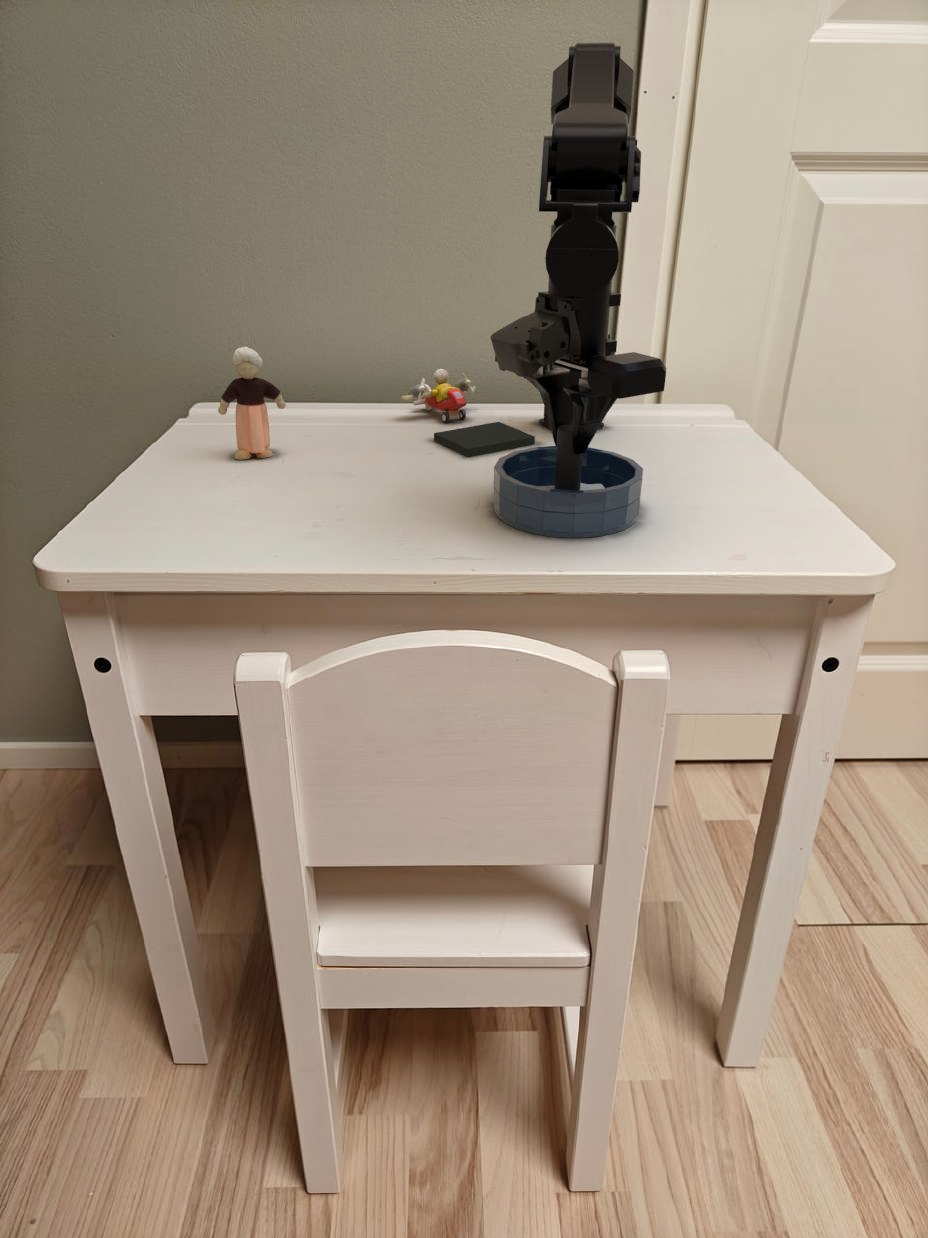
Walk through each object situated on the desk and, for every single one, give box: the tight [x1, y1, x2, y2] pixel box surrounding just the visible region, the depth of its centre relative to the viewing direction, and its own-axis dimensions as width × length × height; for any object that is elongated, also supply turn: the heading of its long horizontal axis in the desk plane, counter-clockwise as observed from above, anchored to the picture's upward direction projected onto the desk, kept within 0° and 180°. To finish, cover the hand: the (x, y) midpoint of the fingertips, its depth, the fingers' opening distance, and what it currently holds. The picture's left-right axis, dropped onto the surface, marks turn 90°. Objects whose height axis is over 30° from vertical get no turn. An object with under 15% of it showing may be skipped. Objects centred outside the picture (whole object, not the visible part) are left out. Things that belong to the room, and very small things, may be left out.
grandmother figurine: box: [217, 346, 287, 461], centre depth 101 cm, size 8×4×13 cm, turn 117°
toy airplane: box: [400, 368, 477, 423], centre depth 118 cm, size 9×9×6 cm
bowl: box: [492, 445, 644, 539], centre depth 87 cm, size 15×15×4 cm
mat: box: [433, 421, 536, 458], centre depth 108 cm, size 10×8×1 cm
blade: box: [539, 425, 604, 491], centre depth 86 cm, size 8×5×8 cm, turn 123°
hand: (569, 449), depth 85 cm, fingers closed on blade, 2 cm apart
